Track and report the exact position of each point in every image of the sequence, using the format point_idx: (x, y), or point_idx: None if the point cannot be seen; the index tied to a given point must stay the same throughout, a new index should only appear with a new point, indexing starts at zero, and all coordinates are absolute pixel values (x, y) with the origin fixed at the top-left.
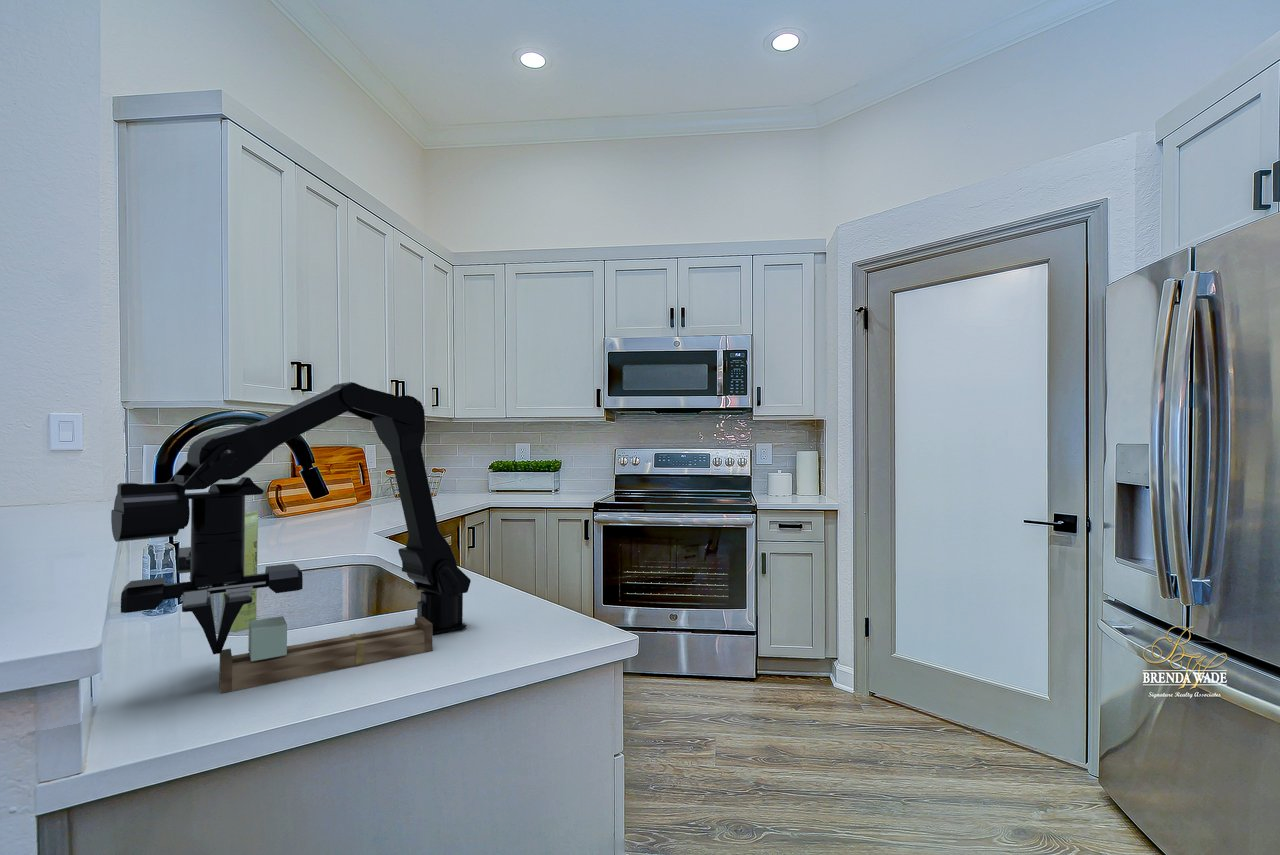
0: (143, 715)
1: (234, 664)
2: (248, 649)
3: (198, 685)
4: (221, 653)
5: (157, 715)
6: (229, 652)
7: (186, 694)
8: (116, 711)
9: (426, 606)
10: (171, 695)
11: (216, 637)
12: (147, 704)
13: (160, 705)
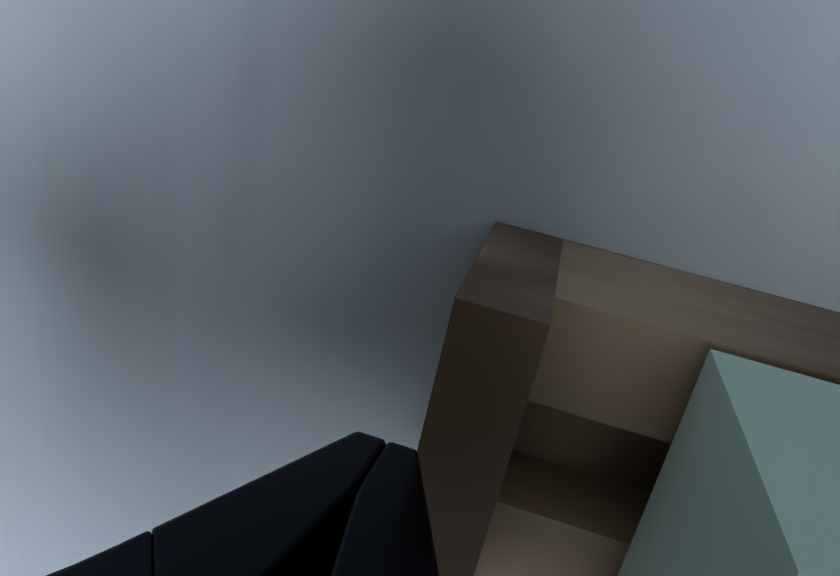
0: (109, 430)
1: (500, 538)
2: (709, 362)
3: (376, 197)
4: (438, 411)
5: (158, 482)
6: (499, 439)
7: (294, 307)
8: (7, 271)
9: None
10: (228, 253)
11: (323, 567)
12: (123, 294)
13: (174, 364)
